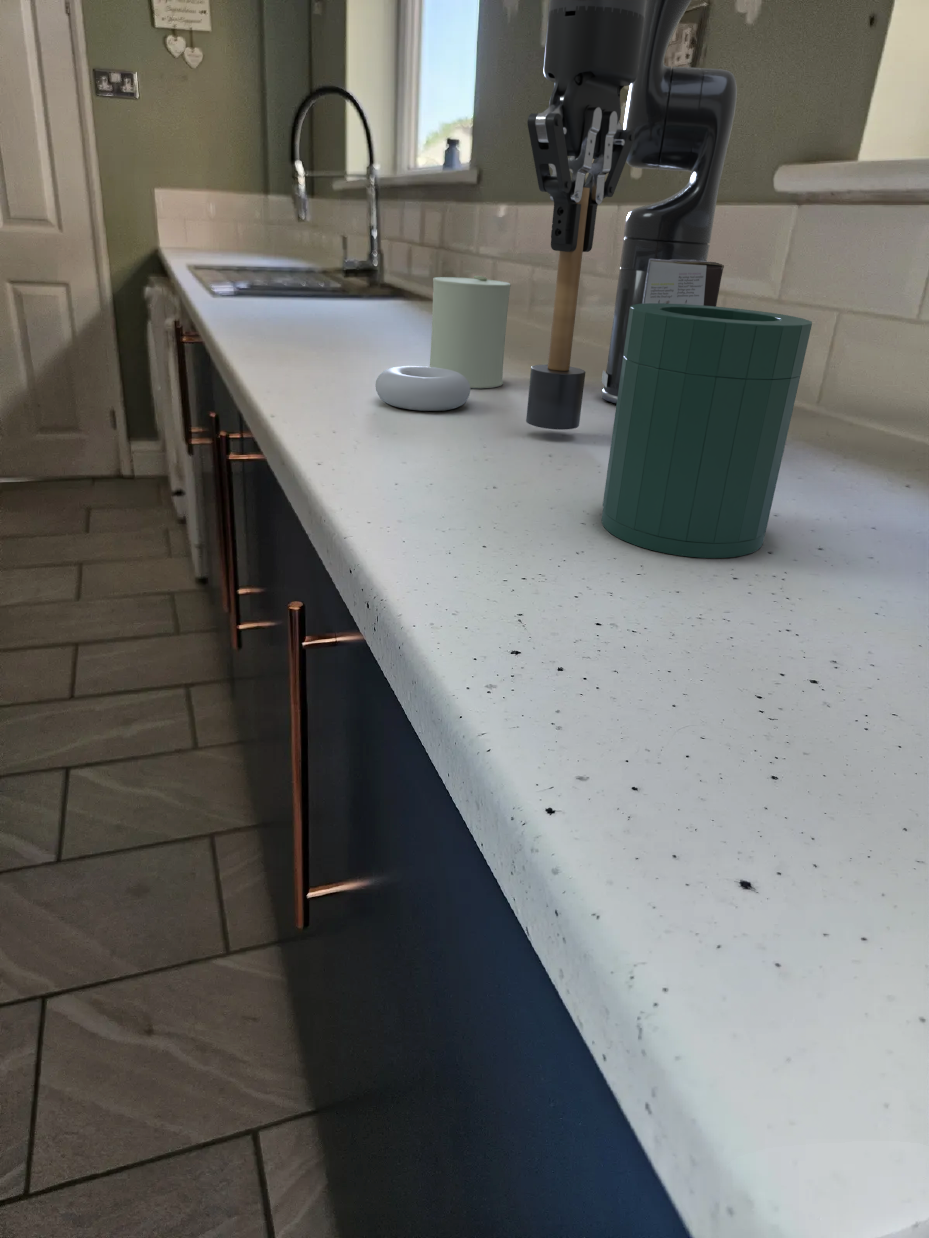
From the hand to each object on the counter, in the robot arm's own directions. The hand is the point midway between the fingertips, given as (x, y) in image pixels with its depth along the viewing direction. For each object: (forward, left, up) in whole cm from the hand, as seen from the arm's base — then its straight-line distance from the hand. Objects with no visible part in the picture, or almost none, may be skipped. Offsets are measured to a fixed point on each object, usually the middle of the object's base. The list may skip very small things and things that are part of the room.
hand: (570, 250), depth 75 cm
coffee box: (-8, +7, -16) cm, 20 cm away
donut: (-1, -17, -16) cm, 24 cm away
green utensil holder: (+16, +21, -16) cm, 31 cm away
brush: (0, 0, -15) cm, 15 cm away
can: (-16, -23, -16) cm, 32 cm away
